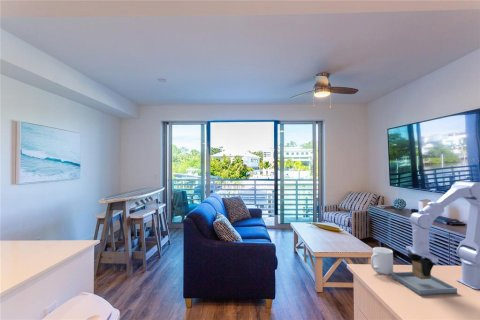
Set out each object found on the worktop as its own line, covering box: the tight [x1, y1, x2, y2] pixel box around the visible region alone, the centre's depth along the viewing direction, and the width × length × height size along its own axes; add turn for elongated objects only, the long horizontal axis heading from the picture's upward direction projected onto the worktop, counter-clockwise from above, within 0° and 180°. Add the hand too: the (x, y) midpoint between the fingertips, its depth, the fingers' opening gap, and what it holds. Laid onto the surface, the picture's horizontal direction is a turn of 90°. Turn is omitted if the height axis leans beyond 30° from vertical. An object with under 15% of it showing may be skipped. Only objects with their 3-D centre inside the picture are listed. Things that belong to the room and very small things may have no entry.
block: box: [411, 260, 432, 279], centre depth 104 cm, size 4×4×6 cm
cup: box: [370, 246, 394, 275], centre depth 118 cm, size 8×12×10 cm
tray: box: [390, 271, 458, 297], centre depth 104 cm, size 16×16×2 cm
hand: (421, 273), depth 104 cm, fingers closed on block, 4 cm apart
